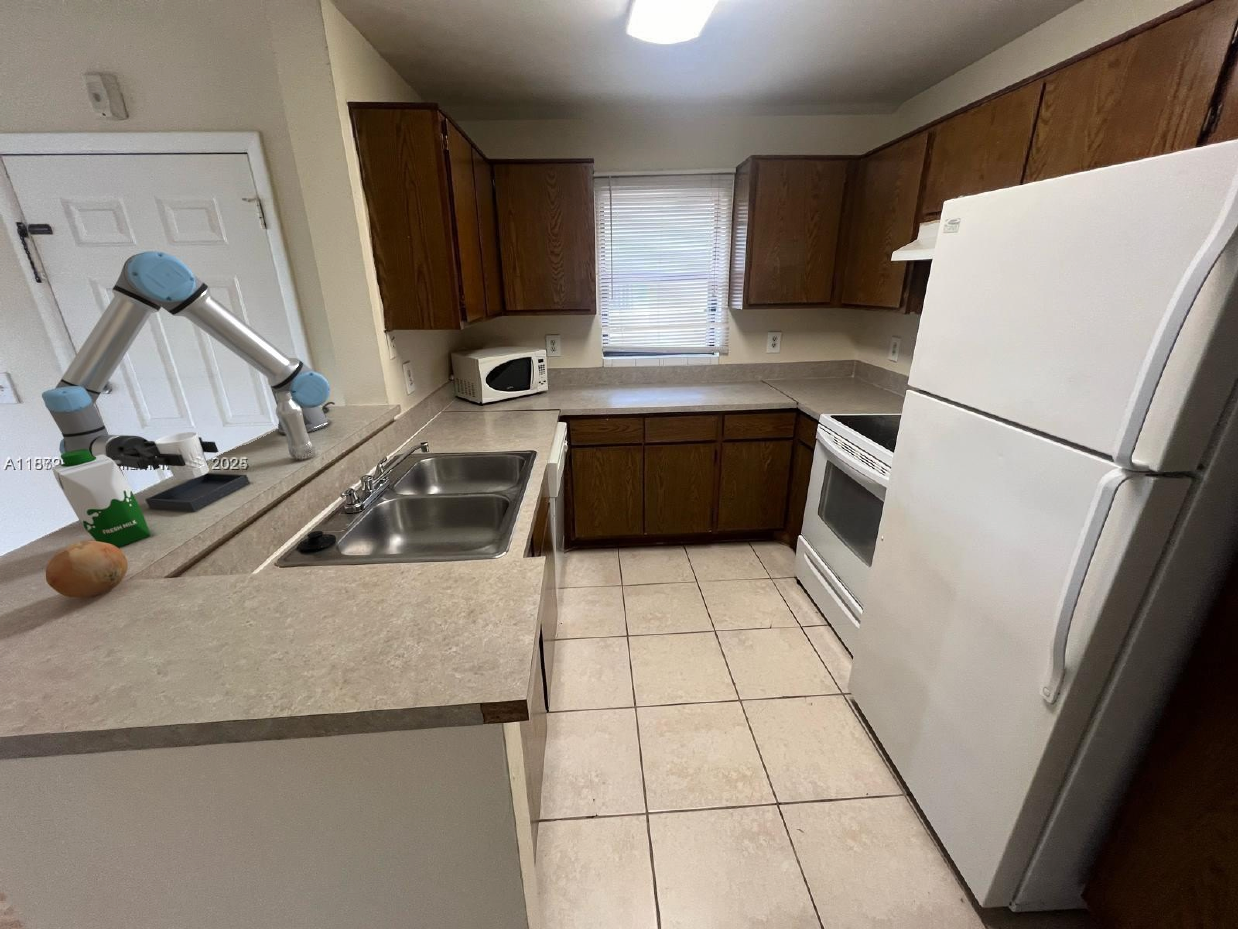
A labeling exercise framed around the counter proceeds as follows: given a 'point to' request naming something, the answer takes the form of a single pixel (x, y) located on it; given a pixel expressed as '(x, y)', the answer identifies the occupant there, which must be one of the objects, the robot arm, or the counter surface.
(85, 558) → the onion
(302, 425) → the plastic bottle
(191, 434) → the white cup
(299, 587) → the counter surface
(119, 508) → the milk carton
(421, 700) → the counter surface
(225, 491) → the baking tray
